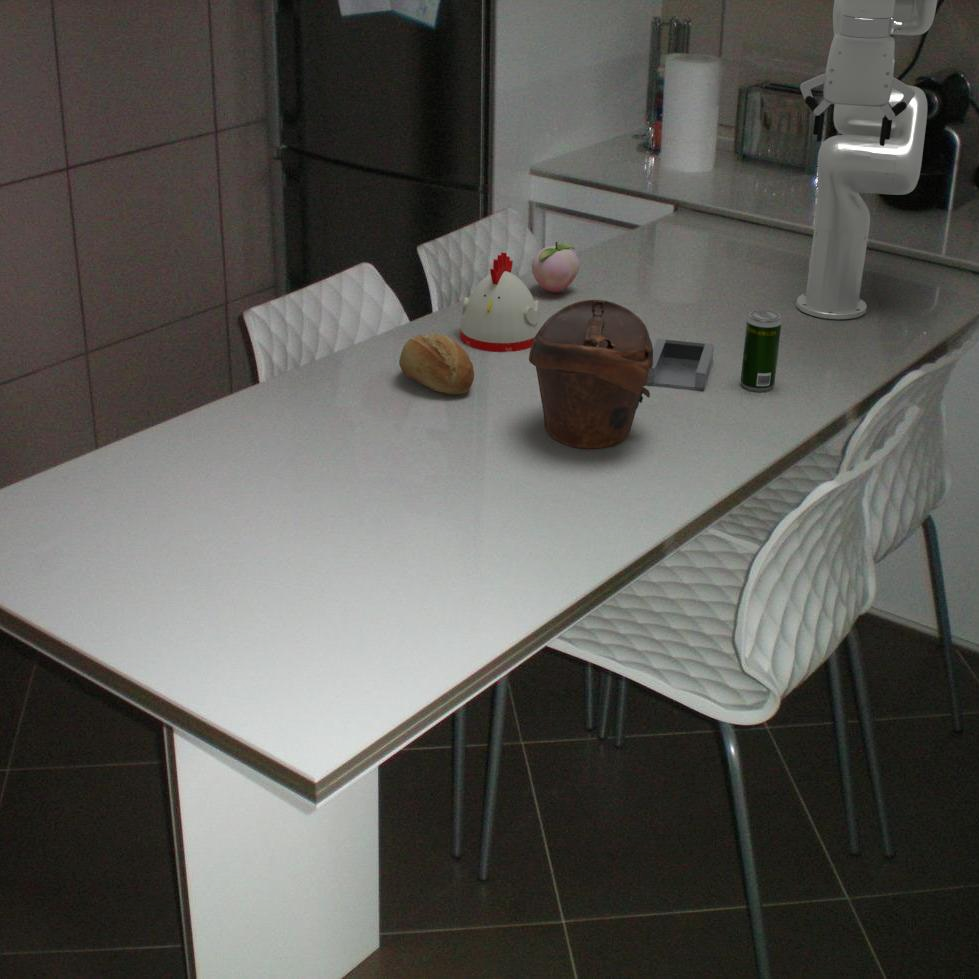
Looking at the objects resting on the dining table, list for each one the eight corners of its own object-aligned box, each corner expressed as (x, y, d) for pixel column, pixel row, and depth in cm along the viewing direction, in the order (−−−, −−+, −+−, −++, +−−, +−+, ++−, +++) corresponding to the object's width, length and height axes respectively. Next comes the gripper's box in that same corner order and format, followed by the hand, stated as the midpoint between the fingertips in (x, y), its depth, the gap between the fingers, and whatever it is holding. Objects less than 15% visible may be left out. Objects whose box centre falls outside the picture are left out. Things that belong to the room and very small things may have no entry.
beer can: (780, 390, 220) (788, 319, 214) (750, 394, 218) (758, 322, 212) (763, 377, 224) (771, 307, 218) (733, 381, 222) (741, 311, 217)
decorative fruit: (548, 282, 265) (550, 231, 260) (584, 290, 261) (587, 239, 256) (521, 295, 258) (522, 243, 254) (557, 304, 254) (559, 251, 249)
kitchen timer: (447, 344, 235) (447, 260, 228) (478, 319, 247) (479, 237, 240) (523, 357, 231) (526, 271, 224) (551, 330, 242) (554, 247, 235)
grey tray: (656, 355, 232) (657, 338, 231) (712, 361, 230) (714, 344, 229) (644, 384, 221) (645, 367, 219) (703, 391, 219) (705, 373, 217)
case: (570, 470, 193) (577, 350, 185) (503, 418, 209) (507, 305, 201) (676, 448, 201) (687, 332, 193) (603, 399, 216) (611, 290, 208)
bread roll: (440, 407, 212) (440, 359, 209) (383, 377, 222) (382, 331, 219) (488, 392, 218) (489, 344, 214) (431, 363, 228) (431, 318, 224)
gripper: (923, 27, 210) (906, 140, 218) (807, 21, 213) (795, 133, 221) (925, 34, 203) (907, 151, 211) (806, 28, 207) (793, 143, 215)
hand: (850, 141), depth 216 cm, fingers open, 9 cm apart
